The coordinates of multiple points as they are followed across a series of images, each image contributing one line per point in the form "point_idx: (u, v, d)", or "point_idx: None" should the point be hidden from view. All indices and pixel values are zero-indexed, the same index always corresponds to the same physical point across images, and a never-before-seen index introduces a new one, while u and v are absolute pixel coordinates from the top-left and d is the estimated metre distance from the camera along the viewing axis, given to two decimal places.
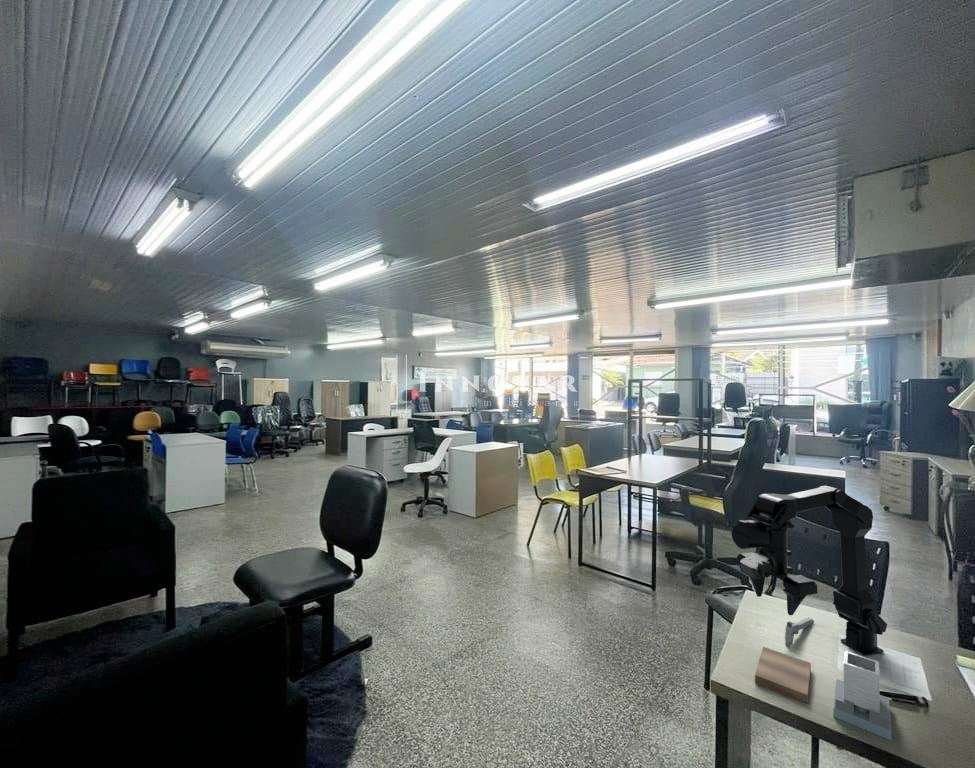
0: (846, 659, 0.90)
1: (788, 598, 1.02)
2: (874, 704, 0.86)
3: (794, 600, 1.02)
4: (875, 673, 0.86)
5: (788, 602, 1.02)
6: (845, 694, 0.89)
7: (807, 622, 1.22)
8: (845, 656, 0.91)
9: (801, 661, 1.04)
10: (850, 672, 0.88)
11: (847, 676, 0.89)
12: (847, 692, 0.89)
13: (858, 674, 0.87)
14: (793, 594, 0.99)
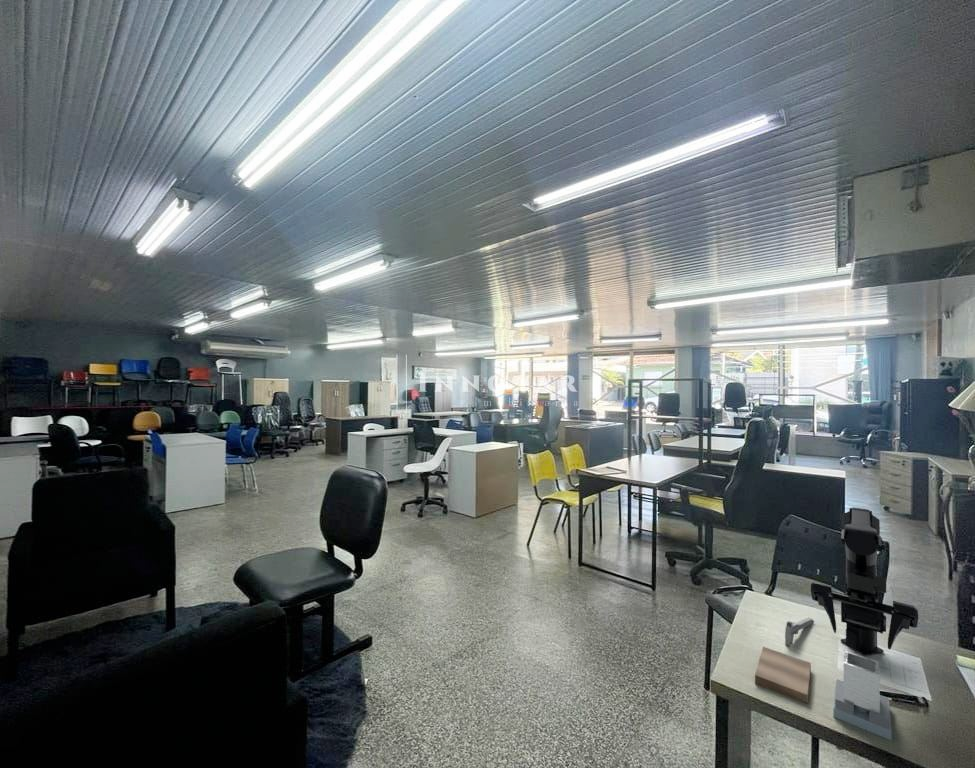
0: (846, 659, 0.90)
1: (893, 626, 0.93)
2: (874, 704, 0.86)
3: None
4: (875, 673, 0.86)
5: (892, 631, 0.92)
6: (845, 694, 0.89)
7: (807, 622, 1.22)
8: (845, 656, 0.91)
9: (801, 661, 1.04)
10: (850, 672, 0.88)
11: (847, 676, 0.89)
12: (847, 692, 0.89)
13: (858, 674, 0.87)
14: (908, 617, 0.92)
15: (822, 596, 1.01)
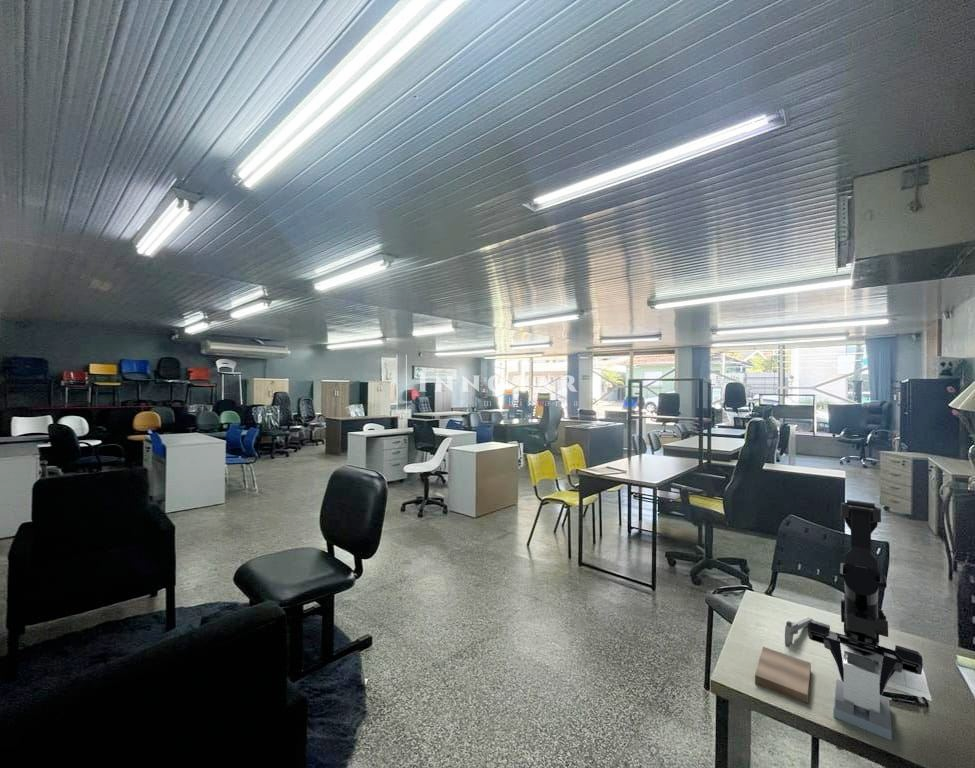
0: (846, 659, 0.90)
1: (884, 670, 0.87)
2: (874, 704, 0.86)
3: None
4: (875, 673, 0.86)
5: (883, 675, 0.87)
6: (845, 694, 0.89)
7: (807, 622, 1.22)
8: (845, 656, 0.91)
9: (801, 661, 1.04)
10: (850, 672, 0.88)
11: (847, 676, 0.89)
12: (847, 692, 0.89)
13: (858, 674, 0.87)
14: (901, 661, 0.86)
15: (829, 640, 0.94)
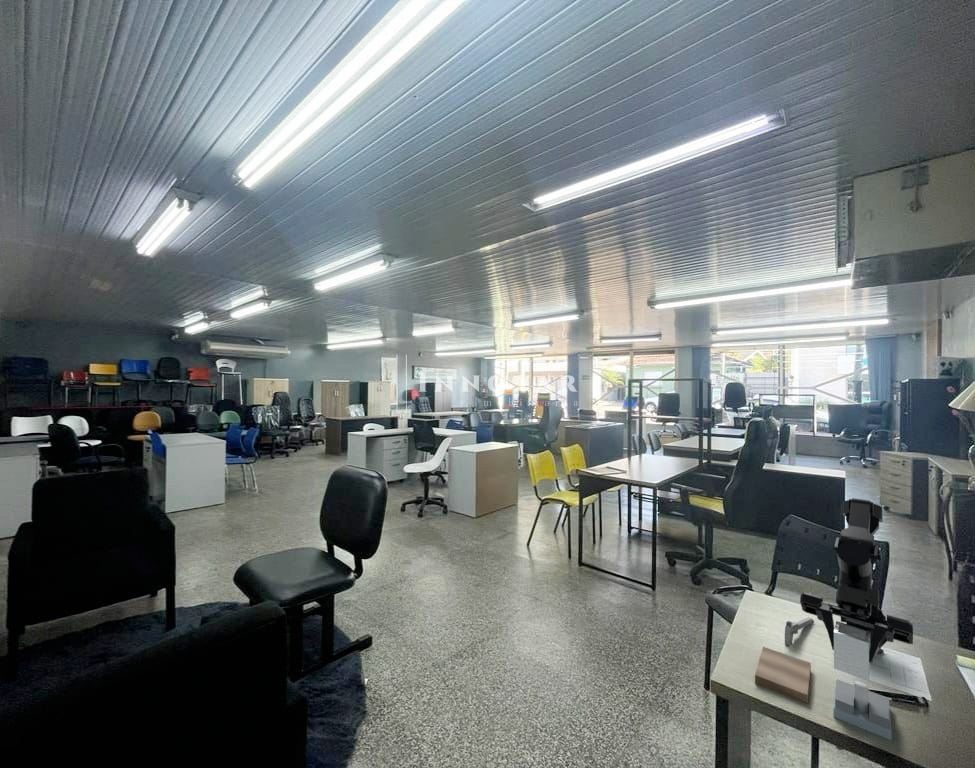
0: (837, 628, 0.91)
1: (875, 638, 0.88)
2: (863, 671, 0.87)
3: None
4: (864, 641, 0.87)
5: (873, 644, 0.88)
6: (835, 662, 0.90)
7: (807, 622, 1.22)
8: (836, 626, 0.92)
9: (801, 661, 1.04)
10: (840, 640, 0.89)
11: (837, 644, 0.90)
12: (837, 660, 0.90)
13: (848, 642, 0.88)
14: (891, 629, 0.87)
15: (821, 611, 0.95)
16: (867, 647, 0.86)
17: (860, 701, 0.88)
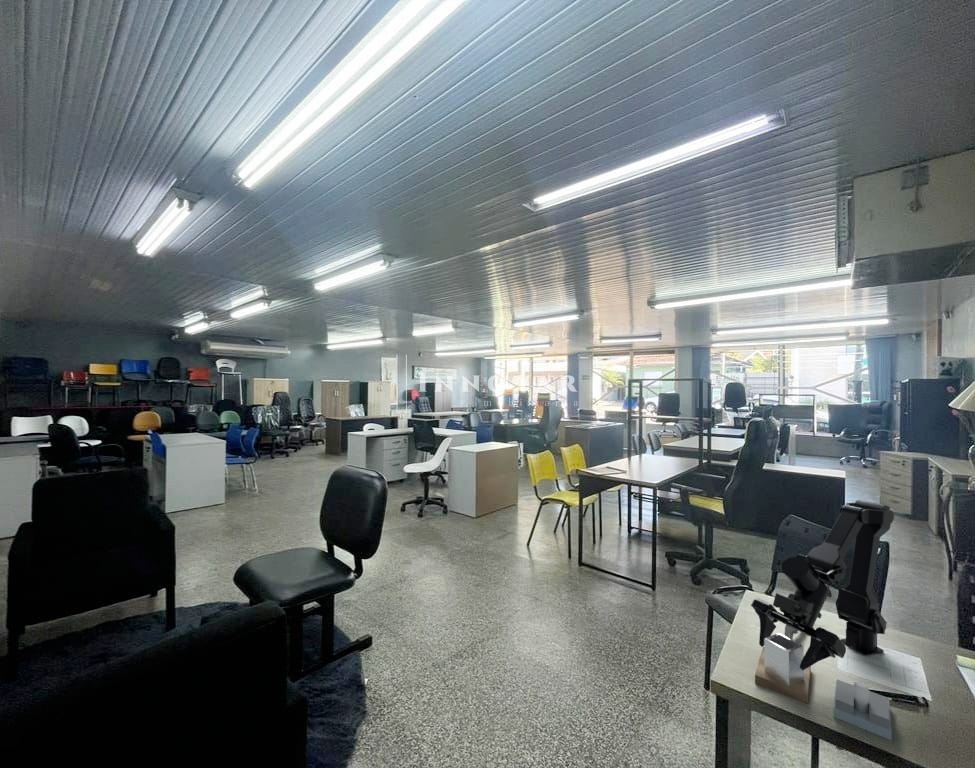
0: (771, 637, 1.01)
1: (810, 649, 0.95)
2: (785, 677, 0.97)
3: (814, 655, 0.95)
4: (786, 650, 0.96)
5: (808, 653, 0.95)
6: (765, 666, 1.01)
7: None
8: (773, 635, 1.02)
9: None
10: (769, 647, 1.00)
11: (767, 650, 1.00)
12: (767, 664, 1.00)
13: (774, 649, 0.99)
14: (824, 643, 0.93)
15: (758, 612, 1.06)
16: (788, 656, 0.96)
17: (860, 701, 0.88)
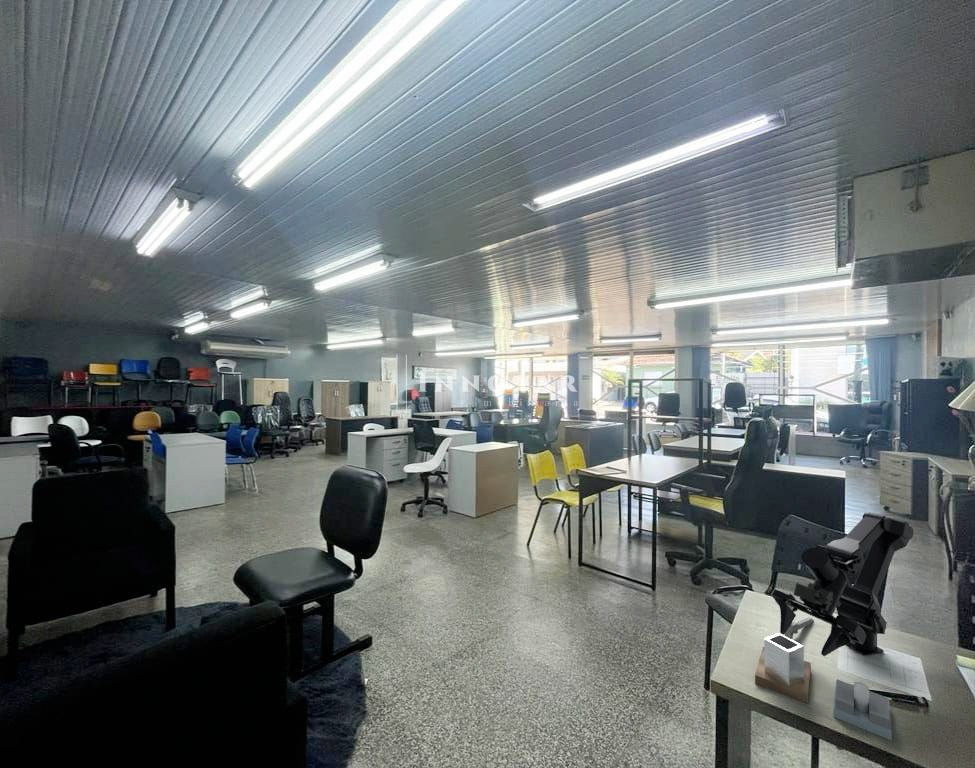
0: (771, 637, 1.01)
1: (831, 636, 0.98)
2: (785, 677, 0.97)
3: (835, 641, 0.98)
4: (786, 650, 0.96)
5: (829, 640, 0.98)
6: (765, 666, 1.01)
7: (807, 622, 1.22)
8: (773, 635, 1.02)
9: None
10: (769, 647, 1.00)
11: (767, 650, 1.00)
12: (767, 664, 1.00)
13: (774, 649, 0.99)
14: (845, 630, 0.96)
15: (778, 601, 1.10)
16: (788, 656, 0.96)
17: (860, 701, 0.88)
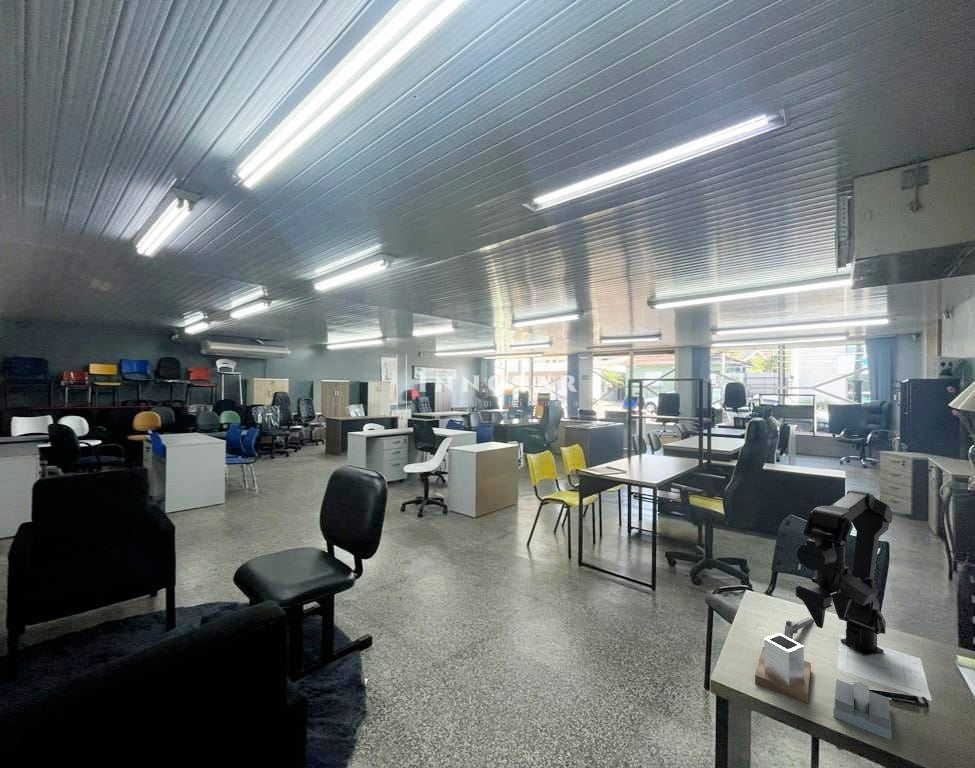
0: (771, 637, 1.01)
1: (849, 602, 1.05)
2: (785, 677, 0.97)
3: None
4: (786, 650, 0.96)
5: (847, 606, 1.05)
6: (765, 666, 1.01)
7: (807, 622, 1.22)
8: (773, 635, 1.02)
9: None
10: (769, 647, 1.00)
11: (767, 650, 1.00)
12: (767, 664, 1.00)
13: (774, 649, 0.99)
14: None
15: (826, 608, 0.99)
16: (788, 656, 0.96)
17: (860, 701, 0.88)
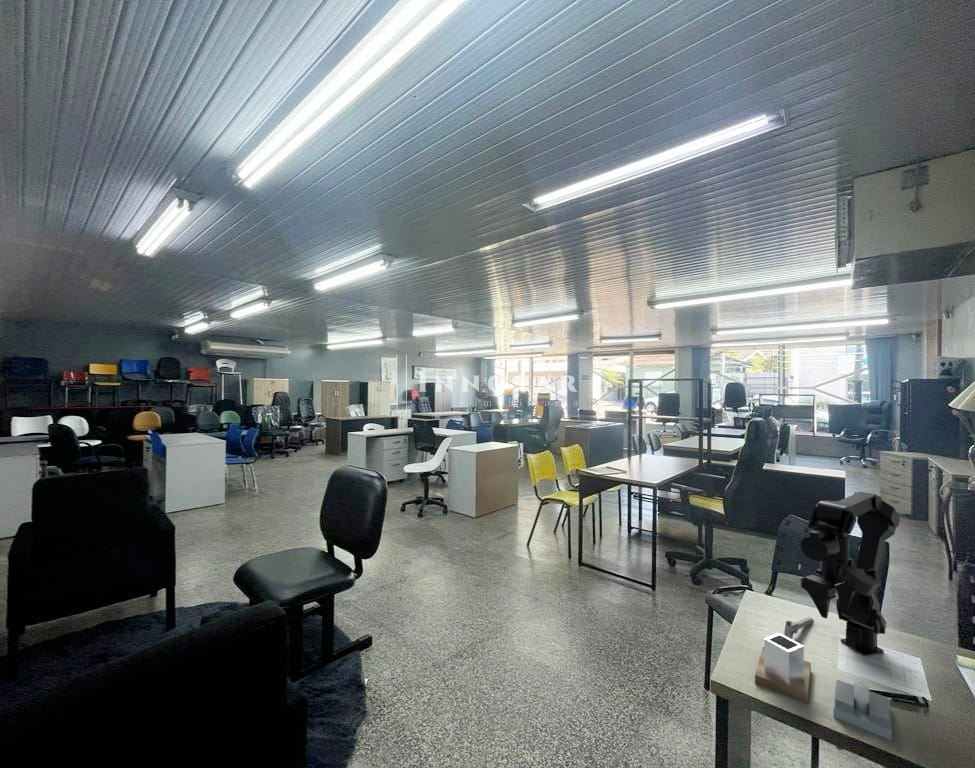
0: (771, 637, 1.01)
1: (852, 593, 1.07)
2: (785, 677, 0.97)
3: None
4: (786, 650, 0.96)
5: (851, 597, 1.07)
6: (765, 666, 1.01)
7: (807, 621, 1.23)
8: (773, 635, 1.02)
9: None
10: (769, 647, 1.00)
11: (767, 650, 1.00)
12: (767, 664, 1.00)
13: (774, 649, 0.99)
14: None
15: (831, 598, 1.01)
16: (788, 656, 0.96)
17: (860, 701, 0.88)
